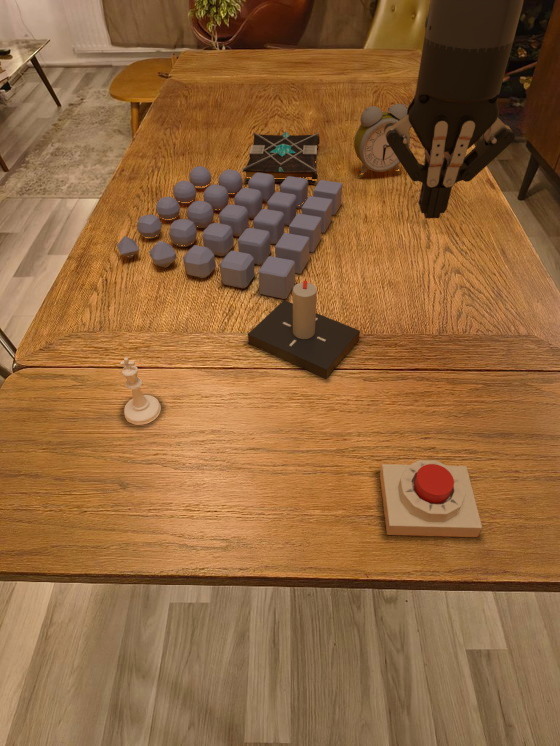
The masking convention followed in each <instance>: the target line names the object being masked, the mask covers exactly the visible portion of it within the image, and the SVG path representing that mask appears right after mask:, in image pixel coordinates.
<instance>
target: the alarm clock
mask: <svg viewBox="0 0 560 746" xmlns="http://www.w3.org/2000/svg"><path fill="white" fill-rule="evenodd" d="M407 110H408V107H407V105H406V104H405V103H395V104H392V105H391V106H390V107H388V108H387V111H383V110H382V109H381V108H380V107H379V106H375V105H372V106H368V107H366V108H365V109H364V110H363V111H362V112H361V115H360V125H359V126H358V129H357V130H356V133H355V135H354V140H353V147H354V152H355V155H356V156H357V158H358V160H359V161H360V162H361V163H362V166H361V168H360V171H361V173H365V172H366V173H367V172H368V171H369V170H370V171H371V172H375V173H384V172H387V171H390V170H394V169H395V170H398V169H400V164H401V163H400V161H399V159H398V158H397V156H396V155H395V153H394V152H393V150H392V149H391V147H390V146H389V144H388V142H387V140H386V136H385V132H384V128H385V126H386V125H387V124H388V123H393V124H395V123H397V122H398V121H399V120H401V119H402V118H403V117H405V116H406V115H407ZM410 144H411V140H410V141H409V142H408V143H407V145H408V146H409V147H410ZM395 170H394V171H395ZM366 173H365V174H366ZM395 173H396V174H397V175H400V174H401V170H400V171H395ZM363 177H364V175H360V173H359V174H358V179H362V178H363Z"/></svg>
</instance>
